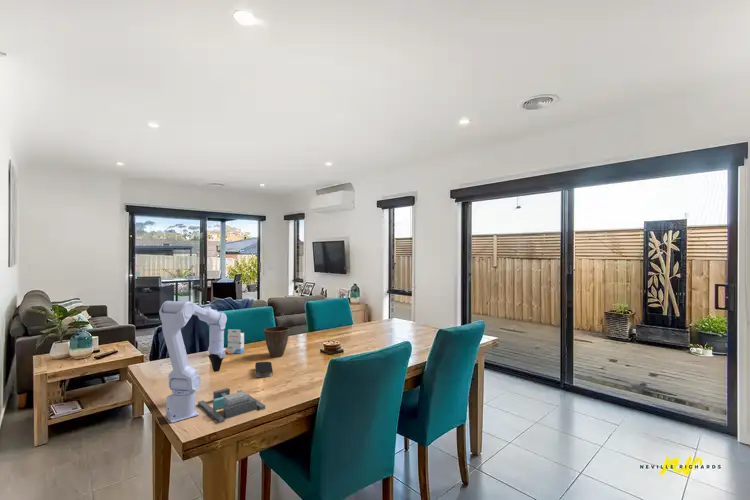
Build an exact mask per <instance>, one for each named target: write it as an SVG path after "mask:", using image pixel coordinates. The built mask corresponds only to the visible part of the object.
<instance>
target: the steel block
mask: <svg viewBox="0 0 750 500" xmlns="http://www.w3.org/2000/svg"><path fill="white" fill-rule="evenodd" d="M249 395H250V394H249V393H248V392H246V391H244V390H242V391H241V392H237V391H236V392H234V393H230V395H226V396H223V409H222V411H224V408H225V407H229V406H232V405H235V404H239V403H242V402H246V401H249Z"/></svg>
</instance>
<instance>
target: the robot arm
mask: <svg viewBox="0 0 750 500" xmlns="http://www.w3.org/2000/svg"><path fill="white" fill-rule="evenodd" d="M158 312H159V313H158V314H159V317H160V321H161V329H162V330H161V331H162V334H163V338H164V341H165V345H166V348H167V353H168V356H169V359H170V364H171V368H172V370H171V371H170V373H169V374H168V375H167V376H168V388H169V390H170V391H171V394H169V395H167V396H166V399H165V403H166V405H165V418H166V419H168V421H169V422H170V423H177V422H180V421H183V420H187V419H190V418H194V417H196V416H199V415H200V413H199V412H198V411H197V410H196V391H198V390H199V387H201V386H200V385H201V381H202V379H201V376H200V375H199V373H198V371H197V369H195V368H194V367H193V366H191V364H190V362H189V357H188V354H187V351H186V346H185V342H184V338H183V334H182V331H181V329H182V328H184V327H185V326H186V325H187V324H188V322H190V321H189V320H190V319H191V318H192V316H193V315H194V316H197V318H198V320H199V321H202V322H205V323H206V324H207V326H209V338H208V339H209V346H208V347H207V352H208V353H209V355H207V356H208V360H210V363H211V367H212V371H213V372H214V373H216V372H220V370H221V366H222V362H223V361H224V358H226V352H225V351H227V348H226V347H225V346H224V344H225V329H226V323H227V322H228V321H227V320H228V317H227V314H226V313H225V312H223V311H218V309H213V308H212V307H211V306H208V305H206V306H204V307H201V306H200V305H197V304H196V303H195V302H192V301H189V300H188V301H181V300H180V301H179V300H177V301H176V300H175V301H173V300H166V301H164V302H163V303H162V305H161V306H160V308H159V310H158Z"/></svg>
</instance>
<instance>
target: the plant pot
mask: <svg viewBox="0 0 750 500" xmlns="http://www.w3.org/2000/svg"><path fill="white" fill-rule="evenodd" d="M263 333H264V334H263V335H264V341H265V344H266V348H267V350H268V353H269V356H270V357H271V358H279V357H283V356H284V354H285V351H286V348H287V344H288V341H289V336H290V335H289V334H290V327H287V326H271V327H266V328H264V329H263Z"/></svg>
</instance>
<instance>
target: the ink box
mask: <svg viewBox="0 0 750 500" xmlns="http://www.w3.org/2000/svg"><path fill="white" fill-rule="evenodd" d="M241 331H242V330H241V329H236V328H235V329H229V328H228V329H227V353H228V352H230V353H229V354H233V353H241V354H242V353H244V352H245V332H241Z"/></svg>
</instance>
